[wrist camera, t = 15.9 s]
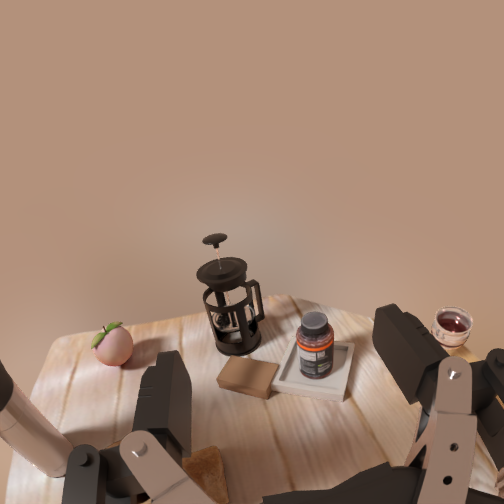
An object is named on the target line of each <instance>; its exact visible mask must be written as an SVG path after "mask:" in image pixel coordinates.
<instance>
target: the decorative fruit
mask: <svg viewBox="0 0 504 504" xmlns="http://www.w3.org/2000/svg"><path fill="white" fill-rule="evenodd" d="M121 324H122V322H113V323H110V324H109V325H108V326H106V327H104V326H103V329H102V332H101V333H99V334H97V335H96V336H95V337H94V339H93V341H92V346H91V349H93V353H94V355H95V356H96V358H97V359H98V360H99V361H100V362H102V363H103V364H105V365H108V366H119V365H121V364H123V363H124V362H126V361H127V360H128V359H129V358H130V356H131V354H132V352H133V340H132V337H131V335H130V333H129V332H128V331H127V330H126V329H125V328H123V327H121V326H119V325H121Z"/></svg>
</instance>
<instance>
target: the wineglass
mask: <svg viewBox="0 0 504 504" xmlns="http://www.w3.org/2000/svg"><path fill="white" fill-rule="evenodd" d="M472 325H473V320H472V317H471V316H470V314H469V313H468V312H466V311H465V310H463V309H461V308H459V307H455V306H446V307H443V308H441V309H439V310H438V311H437V313H436V314H435V321H434V322H433V325H432V330H431V332H432V335H433V336H434V338H435V339H436V340H437V341H438V342H439V343H440V345H441V346H442V347H443V348H444V349H445V351H446V350H453V349H457V348H459V347H461V346H462V345H463V344H464V343H465V342H466V341H467V339H468V337H469V334H470V329H471V328H472Z"/></svg>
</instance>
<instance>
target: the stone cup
mask: <svg viewBox="0 0 504 504" xmlns="http://www.w3.org/2000/svg"><path fill="white" fill-rule="evenodd" d="M121 441H122V440H121ZM121 441H118V442H116V443H114V444H112V445H110V446H108V447H107V448H111V447H115V446H118V445H120V444H121ZM107 448H106V449H107ZM182 468H183V469H184V470H185V471H186V472H187V473H188V474H189V475H190V476H191V477H192V479H193V480H194V481H195V482H196V483H197V484H198V485H199V486H200V487H201V488H202V489H203V490H204V491H205V492H206V493H207V494H208V495H209V496H211V497H212V498H213V499H214V500H215V501H216V502H217V503H218V504H226V503H228V502H229V498H228V495H227V492H228V489H227V487H226V479H225V477H224V465H223V461H222V458H221V455H220V451H219V449H218V447H217V446H211V447H209V448H205V449H202V450H199V451H196V452H193V453H191V457H190V458H182ZM137 504H151V498H150V497H149V495H148V494H147V493H146V492H144V493H140V494H137Z"/></svg>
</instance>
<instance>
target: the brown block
mask: <svg viewBox="0 0 504 504" xmlns="http://www.w3.org/2000/svg"><path fill="white" fill-rule="evenodd" d="M278 367H279V365H278V364H273V363H268V362H262V361H257V360H252V359H247V358H242V357H238V356H233V355H231V357H230V358H229V360H228V361H227V363H226V365H225V366H224V368H223V369H222V371H221V372H220V374H219V375H218V377H217V378H216V379H217V382H218V384H219V387H220V388H224V389H227V390H231V391H235V392H239V393H242V394H246V395H251V396H255V397H259V398H263V399H268V398H269V396H270V394H271V391H272V388H271V382H272V380H273V378H274V375H275V373H276V371H277V369H278Z"/></svg>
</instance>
